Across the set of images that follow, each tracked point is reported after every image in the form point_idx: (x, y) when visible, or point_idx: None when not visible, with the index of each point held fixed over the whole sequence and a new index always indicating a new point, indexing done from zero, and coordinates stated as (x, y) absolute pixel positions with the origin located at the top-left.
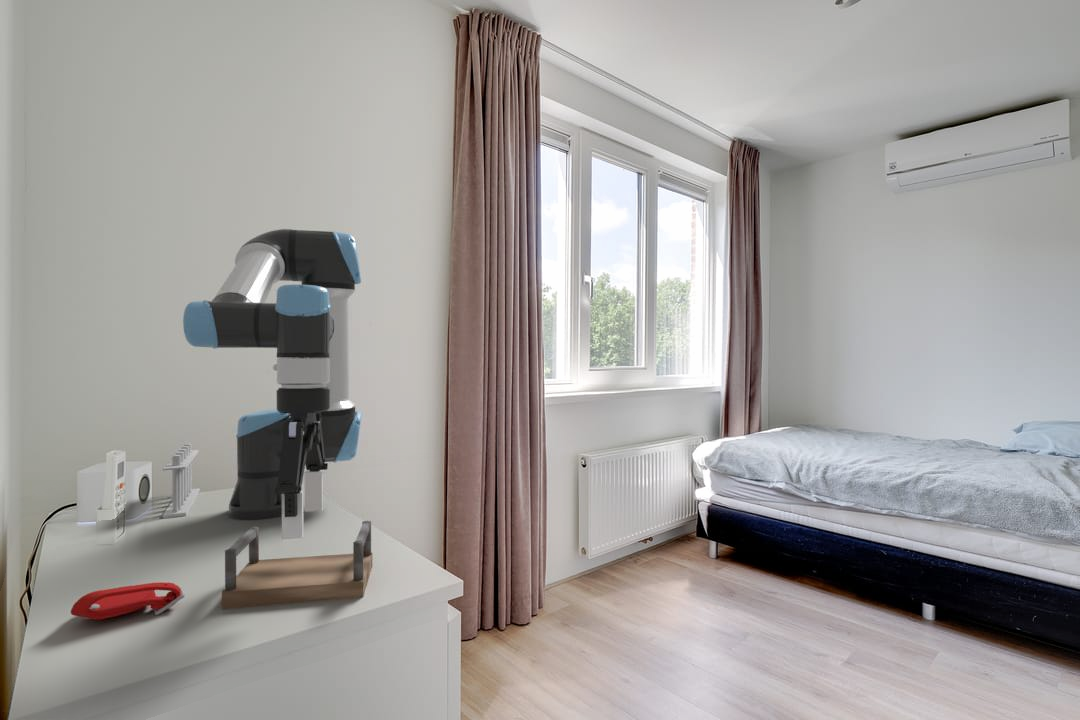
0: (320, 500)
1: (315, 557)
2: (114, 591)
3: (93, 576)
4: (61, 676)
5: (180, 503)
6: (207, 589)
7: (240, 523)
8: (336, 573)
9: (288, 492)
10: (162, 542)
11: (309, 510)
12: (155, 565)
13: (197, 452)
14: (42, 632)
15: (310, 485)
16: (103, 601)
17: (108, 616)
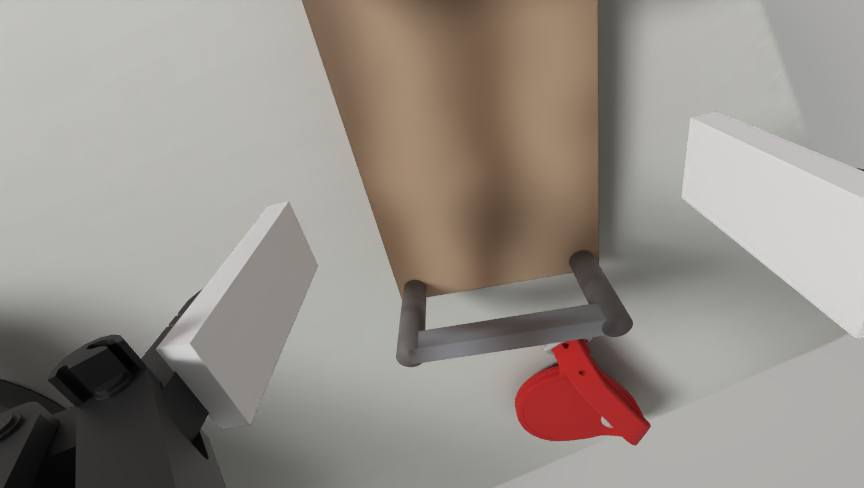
0: (273, 232)
1: (362, 146)
2: (633, 420)
3: (422, 478)
4: (777, 338)
5: None
6: (477, 318)
7: None
8: (503, 3)
9: None
10: (265, 480)
11: (308, 251)
12: (369, 439)
13: None
14: None
15: (267, 329)
16: (585, 419)
17: (622, 387)
